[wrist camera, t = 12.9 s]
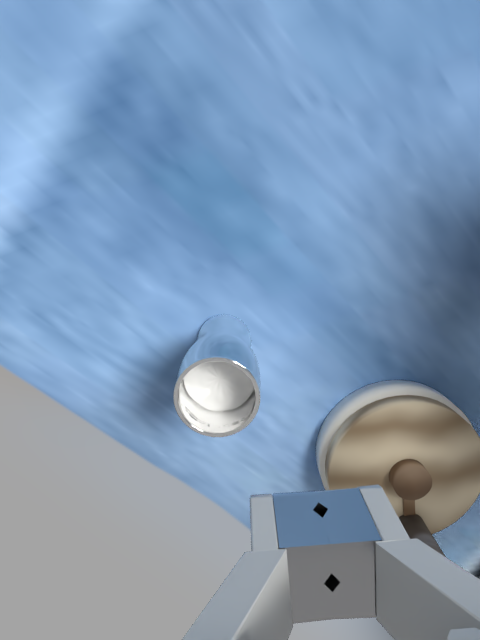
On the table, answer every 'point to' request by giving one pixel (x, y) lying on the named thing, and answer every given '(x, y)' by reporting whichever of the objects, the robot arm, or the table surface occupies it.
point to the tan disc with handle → (410, 461)
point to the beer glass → (219, 379)
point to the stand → (364, 398)
